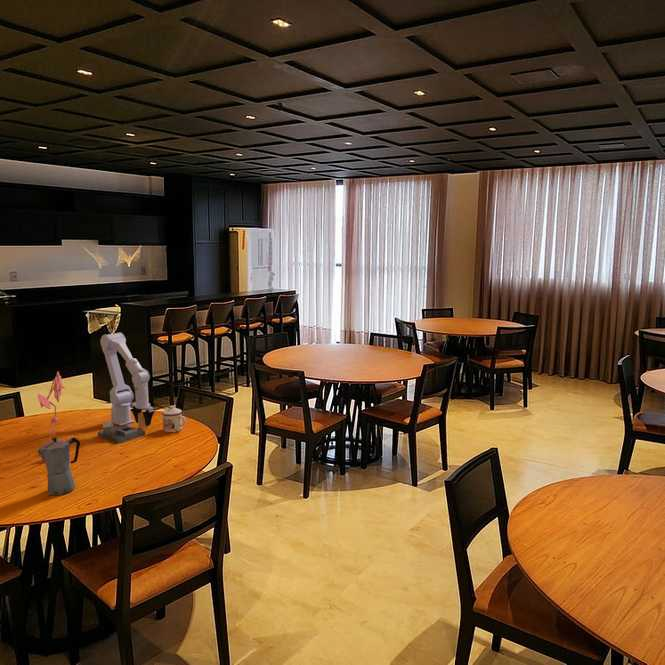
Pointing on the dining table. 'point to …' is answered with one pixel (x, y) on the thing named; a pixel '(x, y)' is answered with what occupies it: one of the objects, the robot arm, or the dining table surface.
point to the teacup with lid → (172, 419)
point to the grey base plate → (119, 432)
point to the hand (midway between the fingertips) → (143, 423)
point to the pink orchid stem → (47, 403)
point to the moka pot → (59, 465)
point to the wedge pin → (141, 421)
